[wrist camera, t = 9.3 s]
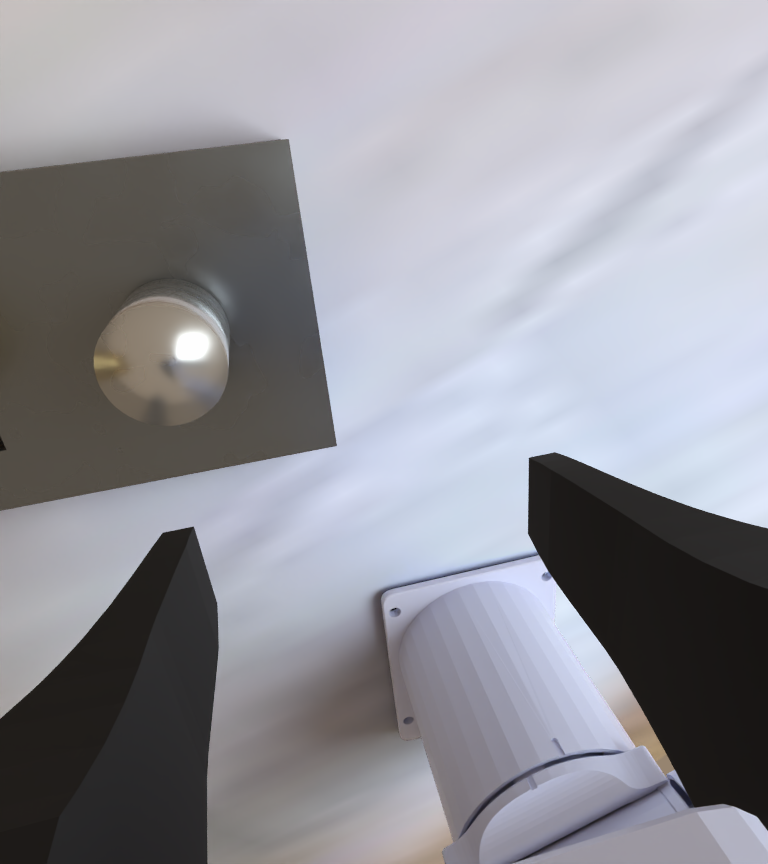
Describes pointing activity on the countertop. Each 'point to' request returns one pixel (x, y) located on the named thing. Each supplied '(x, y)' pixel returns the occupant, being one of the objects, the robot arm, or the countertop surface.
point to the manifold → (154, 321)
